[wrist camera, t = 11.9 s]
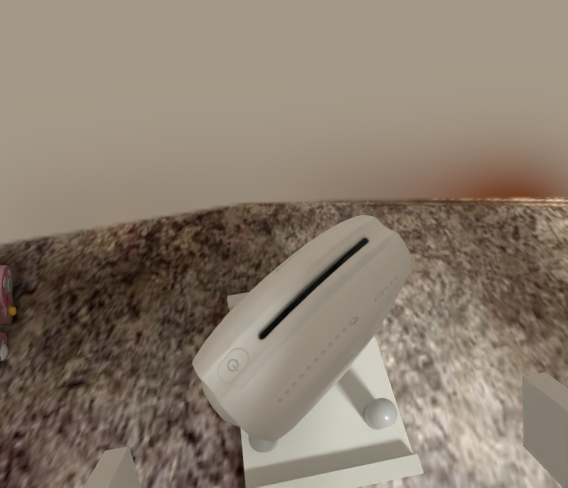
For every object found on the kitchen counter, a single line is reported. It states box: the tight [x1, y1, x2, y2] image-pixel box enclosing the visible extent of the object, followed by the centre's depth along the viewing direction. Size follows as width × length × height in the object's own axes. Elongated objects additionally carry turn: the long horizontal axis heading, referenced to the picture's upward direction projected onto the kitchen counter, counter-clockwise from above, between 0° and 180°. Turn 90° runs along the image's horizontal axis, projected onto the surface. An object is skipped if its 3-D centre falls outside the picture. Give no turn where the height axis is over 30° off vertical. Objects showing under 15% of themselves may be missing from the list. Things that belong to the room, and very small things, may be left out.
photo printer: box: [192, 215, 411, 442], centre depth 16 cm, size 10×4×12 cm, turn 133°
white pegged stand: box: [227, 292, 423, 488], centre depth 23 cm, size 14×11×4 cm
